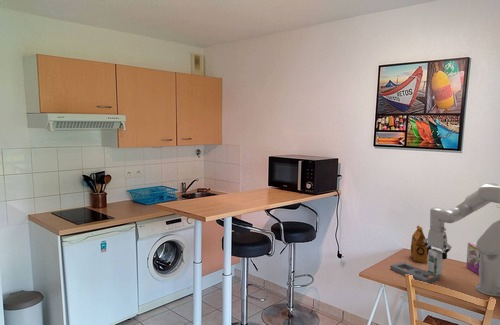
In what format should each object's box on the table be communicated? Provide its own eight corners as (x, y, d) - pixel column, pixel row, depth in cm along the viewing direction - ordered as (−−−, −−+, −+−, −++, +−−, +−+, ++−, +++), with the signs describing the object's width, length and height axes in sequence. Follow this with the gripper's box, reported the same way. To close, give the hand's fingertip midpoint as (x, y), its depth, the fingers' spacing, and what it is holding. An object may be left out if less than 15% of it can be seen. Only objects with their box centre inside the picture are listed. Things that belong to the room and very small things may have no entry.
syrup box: (426, 272, 206) (428, 249, 204) (433, 270, 208) (435, 248, 207) (435, 276, 200) (436, 252, 199) (442, 274, 203) (443, 251, 201)
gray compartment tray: (439, 280, 194) (439, 275, 194) (424, 285, 189) (425, 279, 189) (403, 265, 216) (404, 260, 215) (390, 269, 210) (390, 264, 210)
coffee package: (411, 262, 222) (413, 229, 220) (409, 255, 234) (411, 224, 232) (428, 264, 219) (430, 231, 216) (425, 257, 230) (427, 225, 228)
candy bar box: (465, 267, 213) (467, 242, 212) (473, 267, 213) (475, 242, 212) (477, 275, 202) (479, 248, 200) (486, 275, 202) (488, 248, 200)
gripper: (455, 231, 195) (454, 259, 196) (428, 224, 211) (427, 251, 212) (446, 232, 192) (446, 262, 193) (420, 226, 208) (419, 253, 209)
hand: (436, 256), depth 203 cm, fingers open, 9 cm apart
